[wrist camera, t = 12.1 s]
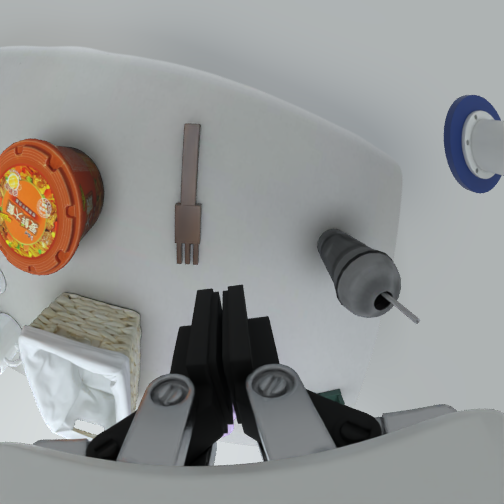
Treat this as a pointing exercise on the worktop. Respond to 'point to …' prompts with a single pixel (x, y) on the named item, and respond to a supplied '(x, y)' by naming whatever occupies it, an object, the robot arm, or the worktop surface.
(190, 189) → the salad fork
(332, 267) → the beverage cup
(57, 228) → the food container
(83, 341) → the basket
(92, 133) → the worktop surface
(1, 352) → the mug
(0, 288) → the cosmetic bottle
